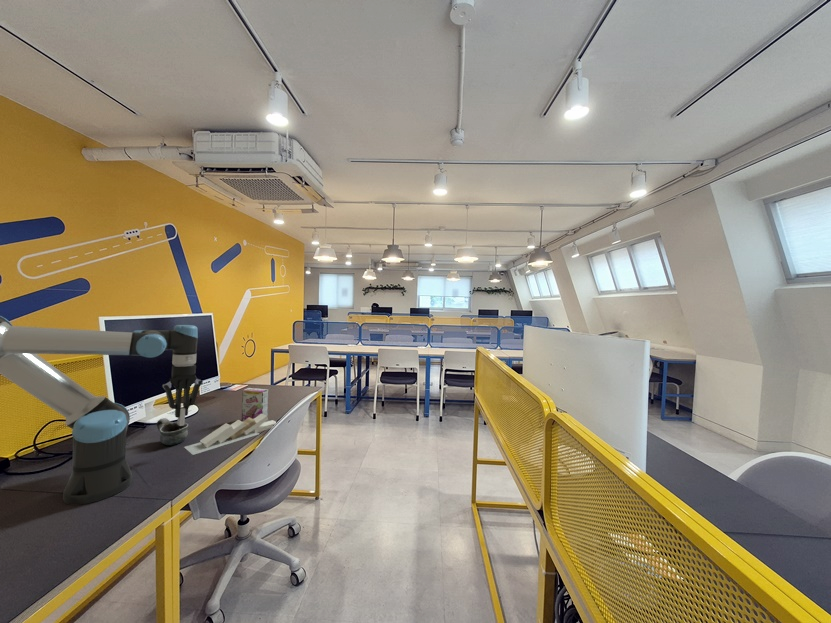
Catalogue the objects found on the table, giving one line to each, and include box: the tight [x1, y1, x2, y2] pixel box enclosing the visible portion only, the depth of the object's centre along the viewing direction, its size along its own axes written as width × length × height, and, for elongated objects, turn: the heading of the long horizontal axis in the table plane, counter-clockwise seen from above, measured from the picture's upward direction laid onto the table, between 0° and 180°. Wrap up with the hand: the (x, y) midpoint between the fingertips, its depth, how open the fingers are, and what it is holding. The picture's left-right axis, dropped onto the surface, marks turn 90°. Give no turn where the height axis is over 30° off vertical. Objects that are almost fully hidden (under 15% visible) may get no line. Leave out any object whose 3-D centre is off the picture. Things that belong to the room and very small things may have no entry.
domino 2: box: [218, 419, 245, 443], centre depth 135 cm, size 2×5×11 cm
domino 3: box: [243, 414, 269, 435], centre depth 143 cm, size 2×5×11 cm
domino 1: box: [199, 422, 233, 448], centre depth 131 cm, size 2×5×11 cm
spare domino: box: [229, 417, 256, 440], centre depth 139 cm, size 2×5×11 cm
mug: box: [156, 417, 189, 446], centre depth 129 cm, size 10×12×10 cm
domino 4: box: [252, 419, 277, 433], centre depth 147 cm, size 2×5×11 cm
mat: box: [183, 431, 260, 456], centre depth 133 cm, size 26×10×1 cm, turn 144°
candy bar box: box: [241, 387, 269, 422], centre depth 155 cm, size 11×5×16 cm, turn 84°
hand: (180, 424), depth 120 cm, fingers closed
